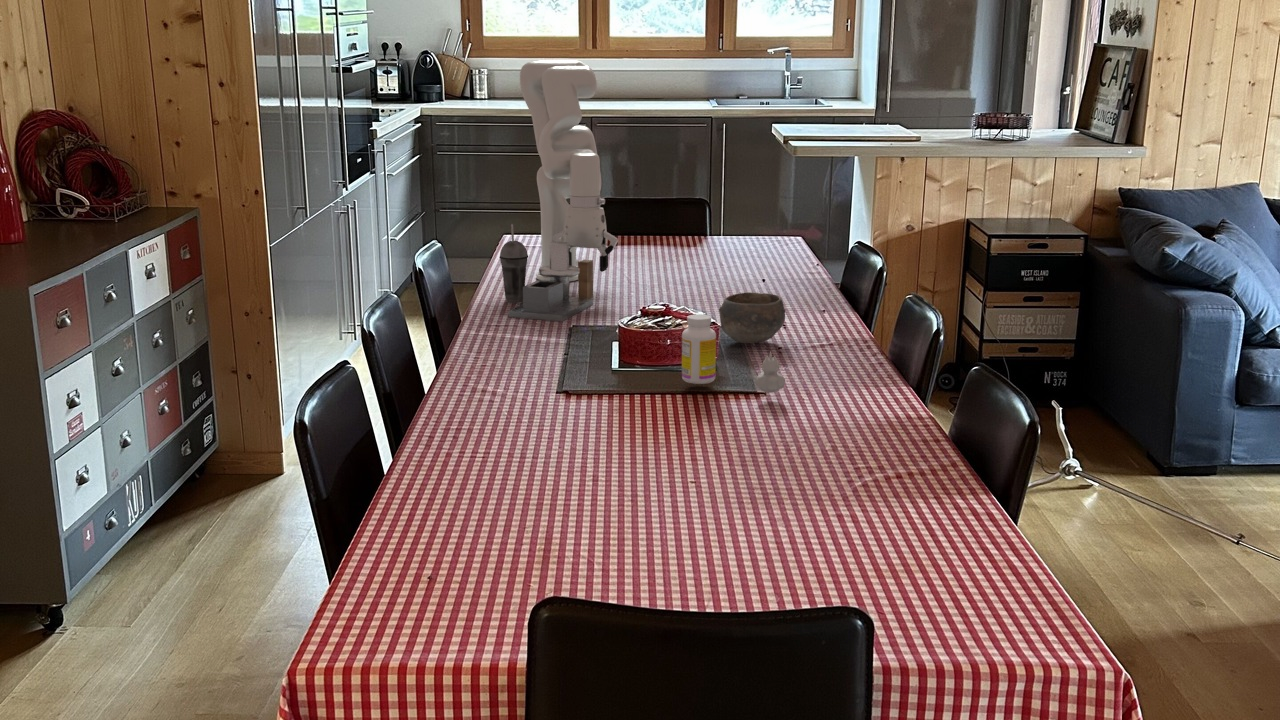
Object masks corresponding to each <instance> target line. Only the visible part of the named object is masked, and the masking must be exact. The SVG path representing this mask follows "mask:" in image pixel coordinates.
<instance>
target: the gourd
mask: <svg viewBox="0 0 1280 720" xmlns="http://www.w3.org/2000/svg"><path fill="white" fill-rule="evenodd" d="M779 366H780V364H779V361H778V359H777V357H776V355H774V356H773V355H772V352H771V350H770V352H769V356H768V355H766V356H765V358H764V360H763V362H762V371H761V372H760V373H759V374H758V375H757V376H756V378H755V385H756V387H757V388H758V389H759V390H760V391H762V392H764V393H768V394H769V393H776V392H779V391H780V390H783V388H784V387H785V384H786V383H785V382H786V379H785V377H784V375H782V374H780V373H779Z"/></svg>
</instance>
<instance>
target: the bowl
mask: <svg viewBox="0 0 1280 720" xmlns="http://www.w3.org/2000/svg"><path fill="white" fill-rule="evenodd" d="M783 302H784V301H783V299H782V298H781V296H780V295H777V294H773V293H765V292H764V293H761V292H760V293H759V292H753V291H752V292H741V293H735V294H732V295H729V296H727V297H725V298H724V299H723V302H722V304H721V306H719V308H718V312H719V319H720V321H719V322H720V328H721V329H722V331H723V333H724V334H725V335H727V336H728V337H729V338H730V339H732V340H733V341H735V342H737V343H741V344H754V343H755V344H756V343H761V342H765V341H768V340H770V339H773V337H774V336H775V335H776V334H777V333H778V332H780V330H781V328H782V327H783V325H784V323H785V320H786V309H785V305H784V303H783Z"/></svg>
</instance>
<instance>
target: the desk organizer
mask: <svg viewBox="0 0 1280 720" xmlns="http://www.w3.org/2000/svg"><path fill="white" fill-rule="evenodd" d="M549 264H550V266H544V267H542V266H541V267H539V268H538V273H539V274H540V275H542V276H546V277H550V281H542V280H538V279H537V280H536V281H533V282H531V283H529V284H525V286H524V287H523V302H522V304H520V305H517V306H516V307H514V308H511V309H509V310H507V313H508V318H515V319H516V318H517V319H526V320H527V319H529V320H540V321H550V322H551V321H552V322H561V323H562V322H564V321H566V320H568V319H570V318H571V317H573V316H575V315H577V314H579V313H580V312H582V311H584V310H586V309H588V308H590V307H591V306H593V305H594V298H591V299H590V298H578V297H576V296H574V297H573V296H570V281H569V277H571V276H576V275H579V267H578V266H570V265H569V243H568V242H550V243H549Z"/></svg>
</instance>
